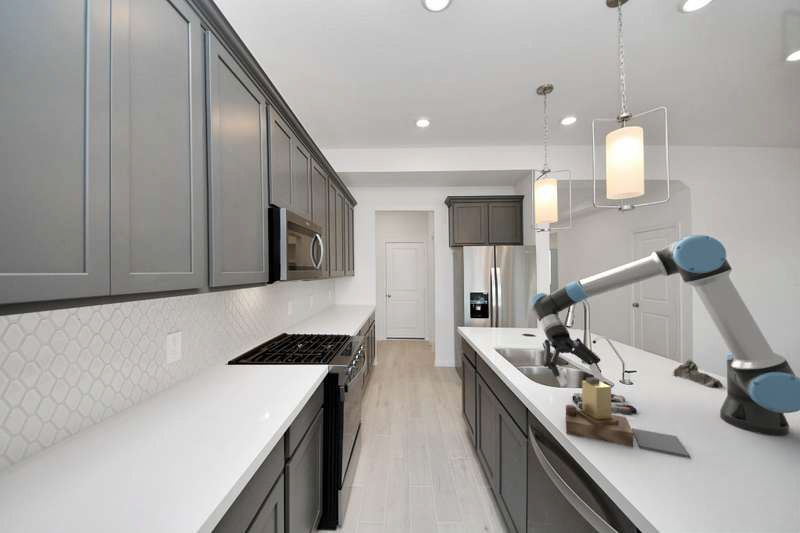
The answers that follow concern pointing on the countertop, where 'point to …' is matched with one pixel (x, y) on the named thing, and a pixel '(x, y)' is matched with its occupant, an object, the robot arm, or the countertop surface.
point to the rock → (695, 374)
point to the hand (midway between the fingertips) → (583, 384)
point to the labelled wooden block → (596, 399)
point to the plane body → (598, 427)
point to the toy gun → (616, 404)
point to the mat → (660, 443)
